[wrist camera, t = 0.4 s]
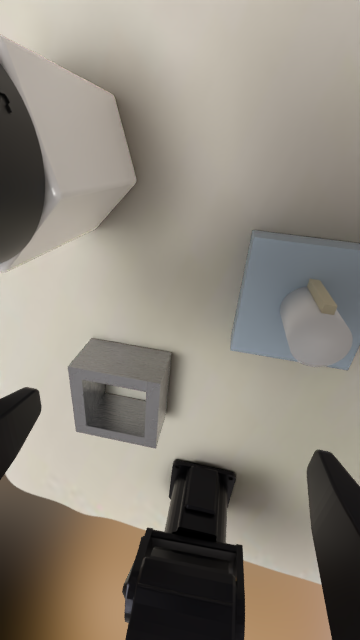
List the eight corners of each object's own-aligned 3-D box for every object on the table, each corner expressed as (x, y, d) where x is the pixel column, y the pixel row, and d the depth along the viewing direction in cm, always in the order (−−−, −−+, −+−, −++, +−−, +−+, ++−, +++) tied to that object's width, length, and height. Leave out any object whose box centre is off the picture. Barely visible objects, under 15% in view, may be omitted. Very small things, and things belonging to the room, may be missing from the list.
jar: (153, 103, 16) (8, 6, 6) (125, 242, 21) (10, 324, 10) (3, 51, 17) (-393, -133, 6) (5, 199, 21) (-231, 239, 10)
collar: (166, 412, 28) (155, 448, 24) (95, 398, 29) (76, 431, 25) (171, 352, 24) (160, 383, 21) (91, 338, 25) (67, 366, 22)
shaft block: (339, 353, 22) (370, 414, 17) (231, 335, 23) (228, 387, 17) (385, 246, 18) (445, 281, 13) (252, 230, 19) (258, 256, 14)
